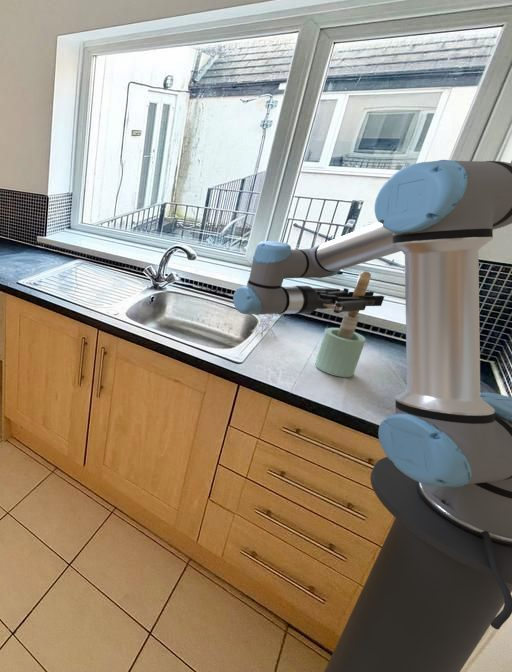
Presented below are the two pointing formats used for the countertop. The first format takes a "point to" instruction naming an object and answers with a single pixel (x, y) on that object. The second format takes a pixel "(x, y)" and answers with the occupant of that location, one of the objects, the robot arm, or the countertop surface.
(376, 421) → the countertop surface
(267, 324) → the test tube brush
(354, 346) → the mint green pipe segment
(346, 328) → the brush
